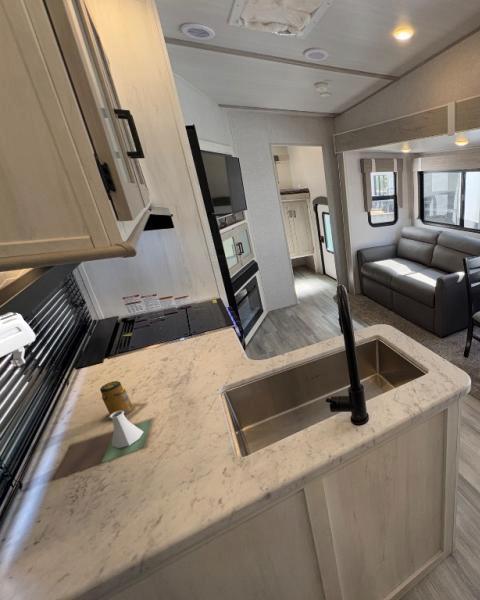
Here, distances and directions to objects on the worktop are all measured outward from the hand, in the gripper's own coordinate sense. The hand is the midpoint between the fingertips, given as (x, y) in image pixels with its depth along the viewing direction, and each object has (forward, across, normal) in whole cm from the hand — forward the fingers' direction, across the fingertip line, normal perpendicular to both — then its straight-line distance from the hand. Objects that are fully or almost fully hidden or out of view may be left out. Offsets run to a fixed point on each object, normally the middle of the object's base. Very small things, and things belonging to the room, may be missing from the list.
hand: (0, 374), depth 78 cm
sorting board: (+31, -4, +12) cm, 33 cm away
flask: (+30, -6, +16) cm, 35 cm away
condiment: (+31, -20, +6) cm, 37 cm away
